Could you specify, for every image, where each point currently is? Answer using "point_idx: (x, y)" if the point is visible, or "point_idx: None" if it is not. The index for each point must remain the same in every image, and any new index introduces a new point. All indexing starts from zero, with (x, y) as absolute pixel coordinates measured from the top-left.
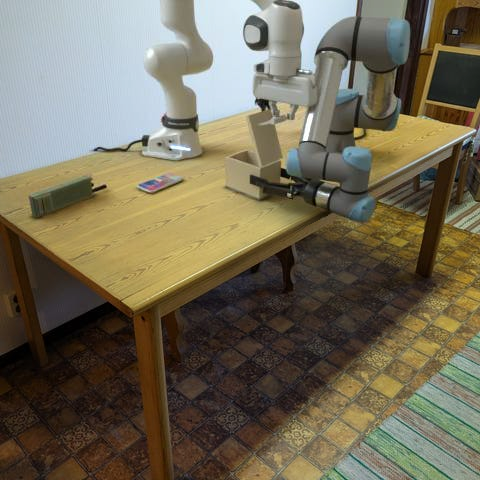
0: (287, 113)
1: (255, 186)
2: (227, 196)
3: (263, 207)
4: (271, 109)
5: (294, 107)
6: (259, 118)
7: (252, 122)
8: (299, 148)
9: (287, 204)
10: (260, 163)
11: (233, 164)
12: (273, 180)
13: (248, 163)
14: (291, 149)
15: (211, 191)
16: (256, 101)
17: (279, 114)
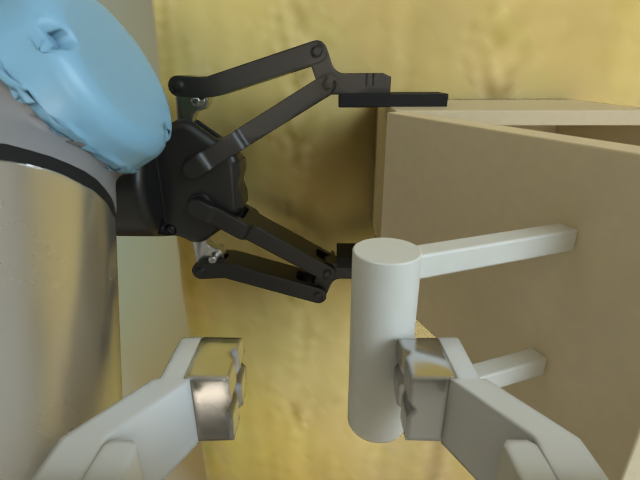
0: (223, 382)
1: None
2: (507, 36)
3: None
4: (494, 385)
5: (50, 461)
6: (608, 304)
7: (622, 185)
8: (2, 108)
9: (279, 151)
10: (399, 112)
11: (583, 107)
12: (379, 198)
13: None
14: (46, 62)
15: (597, 24)
16: None
17: (395, 395)
